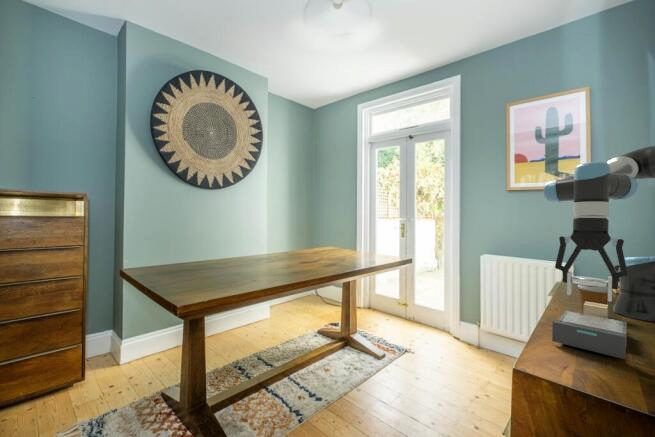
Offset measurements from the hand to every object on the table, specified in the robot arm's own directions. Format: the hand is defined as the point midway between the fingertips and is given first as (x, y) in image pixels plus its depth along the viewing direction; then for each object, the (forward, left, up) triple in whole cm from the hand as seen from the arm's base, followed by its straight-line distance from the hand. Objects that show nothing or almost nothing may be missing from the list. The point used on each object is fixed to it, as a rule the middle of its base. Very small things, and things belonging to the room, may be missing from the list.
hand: (588, 297), depth 83 cm
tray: (-1, -1, -13) cm, 13 cm away
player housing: (-10, -10, -14) cm, 20 cm away
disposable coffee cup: (-28, -30, -14) cm, 44 cm away
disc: (0, 0, +4) cm, 4 cm away
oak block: (-19, -19, -14) cm, 31 cm away
